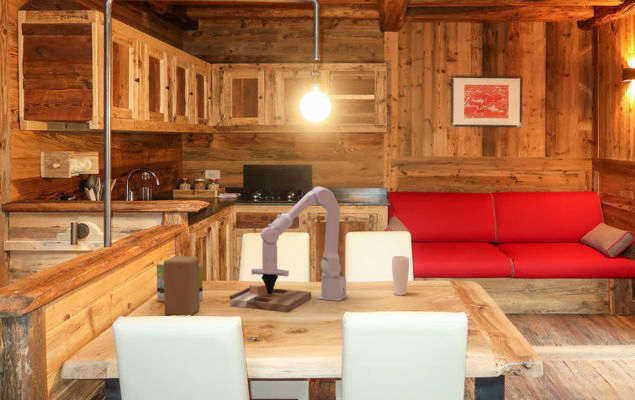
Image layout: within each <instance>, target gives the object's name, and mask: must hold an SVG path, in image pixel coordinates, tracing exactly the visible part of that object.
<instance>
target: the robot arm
mask: <svg viewBox="0 0 635 400" xmlns="http://www.w3.org/2000/svg"><path fill="white" fill-rule="evenodd" d="M318 204H319V205H320V206H322V208H323V209H325V211H326V220H325V221H326V222H325V238H324V239H325V241H324V251H323V253H322V258H321V261H319V268H320V269H321V271H322V272H321V279H320V280H321V282H320V283H321V289H320V290H321V295H320V296H318V297H317V299H318V300H323V301H324V300H326V301H337V302H341V301H342V300H344V299H345V298H347V297H348V295H347V279H346V277H345V276H341V271H342V265H341V263H340V256H339V255H340V254H339V253H338V251H339V234H340V233H339V231H340V217H341V216H340V214H341V207H340V206H341V205H340V204H339V203H338V200H337V198H336V197H335V194H334V192H332V191H331V190H330V189H328V188H326V187H322V186H318V185H317V186H314V187H313V188H312V189H311V190H309V191H308V192H307V193H306V194H305V195H304V196H303V197H301V199H300V200H299V201H298V202H297V203H296V204H295V205H293V207H292V208H291V209H290V210H288V212H287V213H286V212H283V213H281V214H280V213H278V214H277V216H276V217H277V218H275V219H274V221H273V222H271V223H269V224H267V227H264V228H263V229H262V231H261V232H260V233H261V234H260V237H261V240H262V242H261V243H262V247H261V249H262V251H261V256H262V257H261V259H262V261H261V262H262V264H261V268H251V269H250V270H251V275H252V276H253V275H254V276H255V275H259V276H261V275H262V276H261V279H262V281H263V284H265V286H266V289H267V293H268V294H272V293H273V289H274V287H275V285H276V283H277V279H278V278H279V276H280V277H289V276H290V275H289V273H290V272H289V270H287V269H286V270H285V269H278V246H277V245H278V243H277V242H278V241H279V237H280V236H282V234H284V232H286V231H287V230H288V229H289V228H290V227H292V225H293V223H294V219H295V218H296V217H298V215H300V214H301V213H302V212H303V211H305V210H306V209H307V208H308V207H311V206H317V205H318Z"/></svg>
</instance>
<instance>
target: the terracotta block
mask: <svg viewBox="0 0 635 400" xmlns="http://www.w3.org/2000/svg"><path fill="white" fill-rule="evenodd" d="M249 287H250V293H254V294H257V295H258V294H263V293H267V289H266V286H265V283H261V282H257V283H253V284H249Z"/></svg>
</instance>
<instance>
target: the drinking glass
mask: <svg viewBox="0 0 635 400" xmlns="http://www.w3.org/2000/svg"><path fill="white" fill-rule="evenodd" d="M391 272H392V273H391V274H392V287H393V294H394V295H395V296H406V295H407V293H408V280H409V272H410V257H408V256H404V255H396V256H392V257H391Z"/></svg>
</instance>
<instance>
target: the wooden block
mask: <svg viewBox="0 0 635 400" xmlns="http://www.w3.org/2000/svg"><path fill="white" fill-rule="evenodd" d="M162 263H163V265H164V301H163V302H164V305H163V306H164V315H165V316H167V315H191V316H192V315H194V314H196V313H197V312H199V310H200V309H201V307H200V306H201V305H200V296H199V264H200V259H199V257H197V256H183V255H182V256H181V255H179V256H178V255H175V256H172V257H170V258H168V259H165V260H163V262H162Z"/></svg>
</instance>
